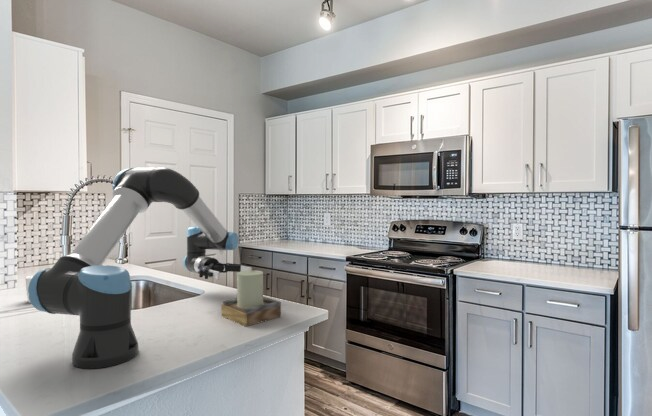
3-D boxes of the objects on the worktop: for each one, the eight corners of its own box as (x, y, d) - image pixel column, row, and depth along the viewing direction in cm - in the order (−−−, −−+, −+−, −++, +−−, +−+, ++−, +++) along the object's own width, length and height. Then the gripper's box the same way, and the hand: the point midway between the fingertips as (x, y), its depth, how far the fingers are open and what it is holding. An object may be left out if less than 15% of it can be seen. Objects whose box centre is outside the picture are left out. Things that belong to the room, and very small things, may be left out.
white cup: (28, 299, 158) (28, 275, 158) (52, 297, 162) (51, 273, 161) (23, 304, 151) (23, 279, 151) (48, 302, 155) (47, 277, 154)
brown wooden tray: (245, 326, 127) (245, 310, 127) (221, 316, 137) (221, 301, 137) (280, 316, 137) (280, 302, 137) (256, 308, 148) (256, 294, 148)
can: (266, 302, 141) (266, 269, 141) (259, 309, 132) (259, 274, 132) (241, 301, 142) (241, 268, 142) (233, 308, 133) (232, 273, 132)
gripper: (234, 271, 168) (263, 278, 153) (177, 279, 150) (203, 288, 135) (234, 254, 168) (263, 259, 153) (177, 260, 150) (203, 267, 135)
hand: (235, 273), depth 144 cm, fingers open, 13 cm apart
